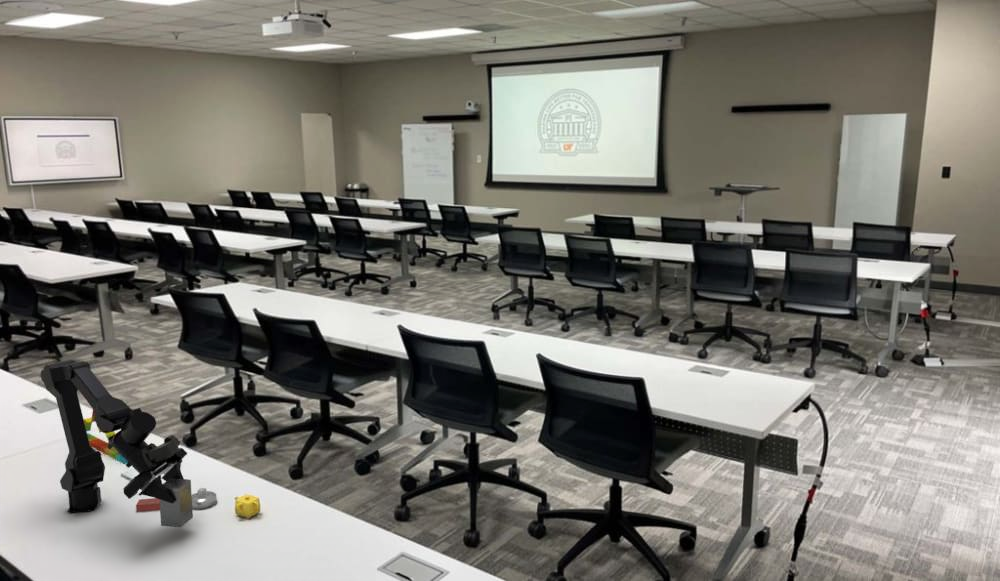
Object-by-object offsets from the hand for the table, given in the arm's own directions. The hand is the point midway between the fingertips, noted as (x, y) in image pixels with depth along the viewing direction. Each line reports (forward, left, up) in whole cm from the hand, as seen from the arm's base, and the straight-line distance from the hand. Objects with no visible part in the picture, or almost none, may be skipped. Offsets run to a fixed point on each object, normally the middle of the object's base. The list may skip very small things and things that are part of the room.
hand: (180, 496), depth 177 cm
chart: (-35, +61, -10) cm, 71 cm away
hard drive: (-17, +40, -11) cm, 45 cm away
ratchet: (-5, +16, -10) cm, 20 cm away
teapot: (+14, +7, -10) cm, 19 cm away
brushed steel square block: (-1, 0, -7) cm, 7 cm away
